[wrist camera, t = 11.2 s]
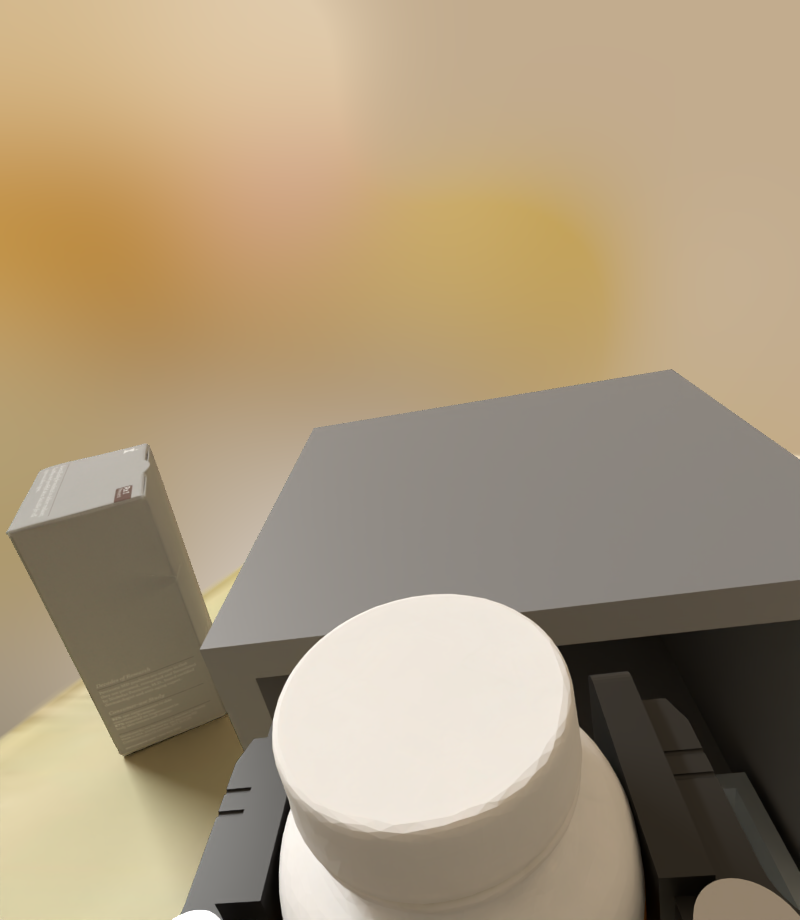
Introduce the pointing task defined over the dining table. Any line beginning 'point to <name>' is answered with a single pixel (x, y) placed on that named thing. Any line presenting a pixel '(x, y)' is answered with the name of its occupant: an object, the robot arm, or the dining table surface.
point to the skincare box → (120, 593)
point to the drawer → (762, 835)
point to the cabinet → (553, 555)
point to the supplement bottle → (447, 775)
